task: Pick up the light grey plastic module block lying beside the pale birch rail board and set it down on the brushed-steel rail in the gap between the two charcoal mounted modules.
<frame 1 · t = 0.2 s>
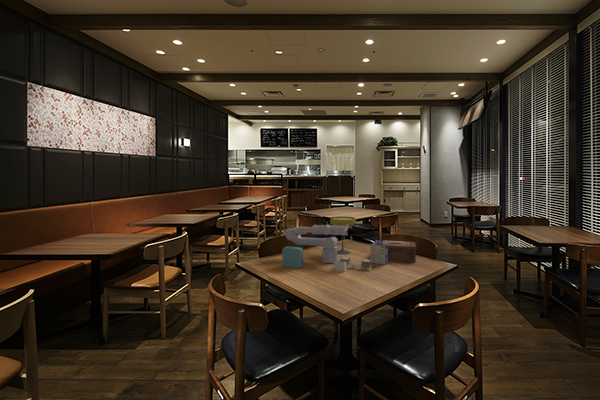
hand: (361, 231, 188), 21 cm above the table, tool horizontal, fingers open, 7 cm apart
rail board: (355, 267, 186), on the table
ink cartridge box: (379, 263, 195), on the table
mounted modules: (355, 261, 186), on the din rail, point 3 cm above the table
cocktail glass: (342, 252, 221), on the table
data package: (292, 267, 188), on the table
din rail: (355, 265, 186), on the rail board, point 1 cm above the table
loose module: (340, 270, 181), on the table
tissue box cover: (394, 258, 207), on the table
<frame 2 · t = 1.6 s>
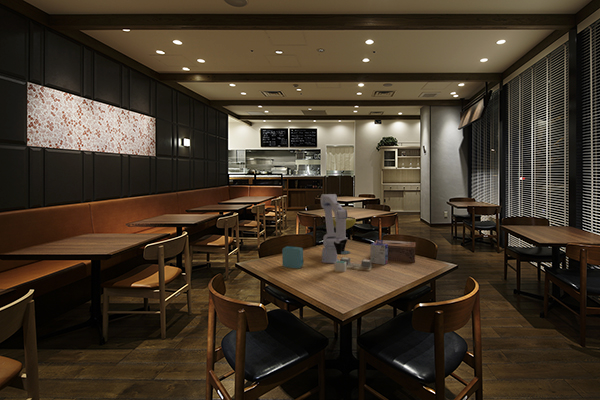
hand: (340, 252, 180), 10 cm above the table, tool pointing down, fingers open, 7 cm apart
nothing on the table moved.
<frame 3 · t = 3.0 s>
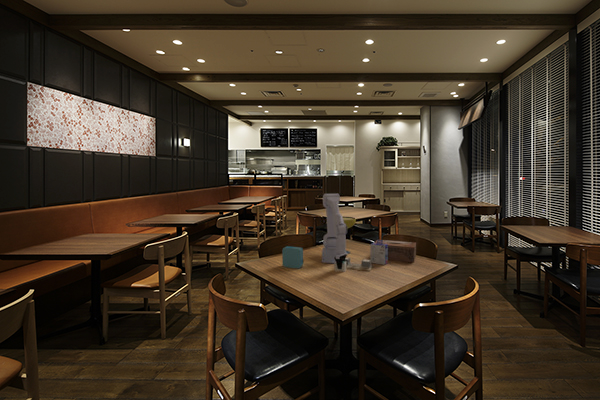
hand: (340, 267, 180), 1 cm above the table, tool pointing down, fingers closed on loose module, 4 cm apart
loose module: (340, 270, 181), on the table, touching gripper
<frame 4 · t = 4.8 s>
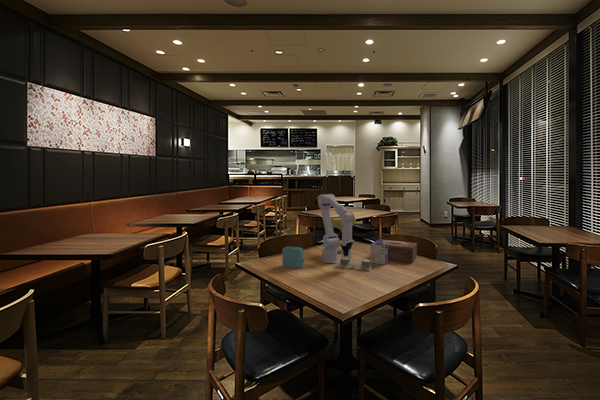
hand: (346, 255, 182), 8 cm above the table, tool pointing down, fingers closed on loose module, 4 cm apart
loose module: (346, 257, 182), point 7 cm above the table, touching gripper
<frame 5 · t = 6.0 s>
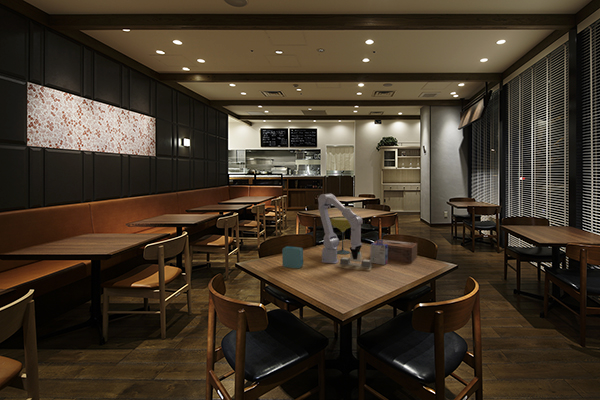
hand: (355, 258, 186), 6 cm above the table, tool pointing down, fingers closed on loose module, 4 cm apart
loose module: (355, 260, 186), point 4 cm above the table, touching gripper
when the fingers open (4 cm above the table, at t = 6.8 s): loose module stays where it is, resting on din rail.
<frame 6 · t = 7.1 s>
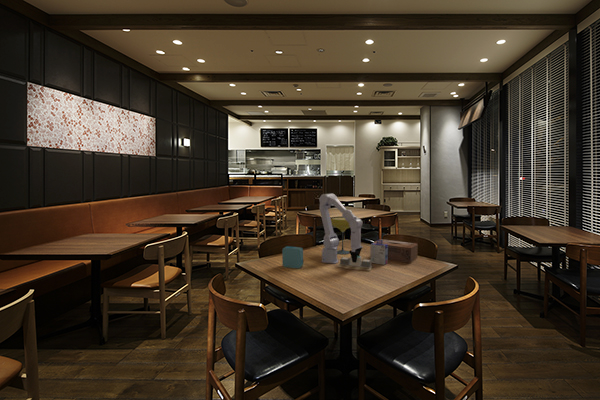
hand: (355, 260, 186), 4 cm above the table, tool pointing down, fingers open, 7 cm apart
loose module: (355, 264, 186), point 2 cm above the table, touching din rail
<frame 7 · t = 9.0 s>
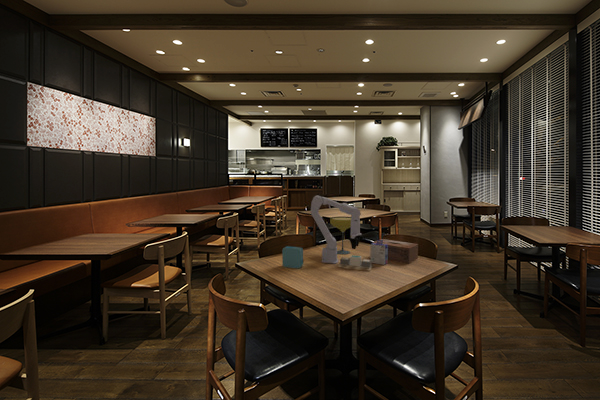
hand: (355, 247, 197), 9 cm above the table, tool pointing down, fingers open, 7 cm apart
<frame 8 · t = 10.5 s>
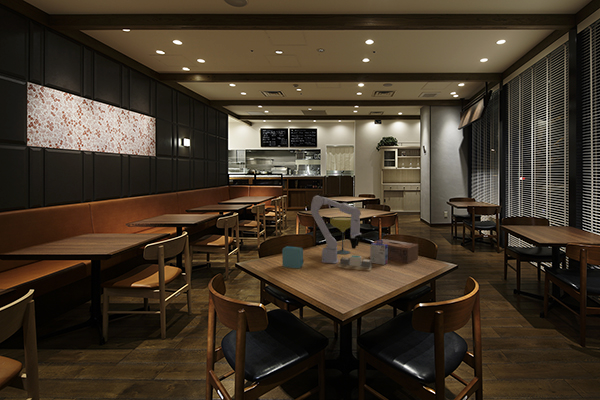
hand: (355, 247, 198), 9 cm above the table, tool pointing down, fingers open, 7 cm apart
at the end: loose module 0.1 cm off-centre on the rail board, point 1.6 cm above the rail board's base; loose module tilted 0°; the gripper is holding nothing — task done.
